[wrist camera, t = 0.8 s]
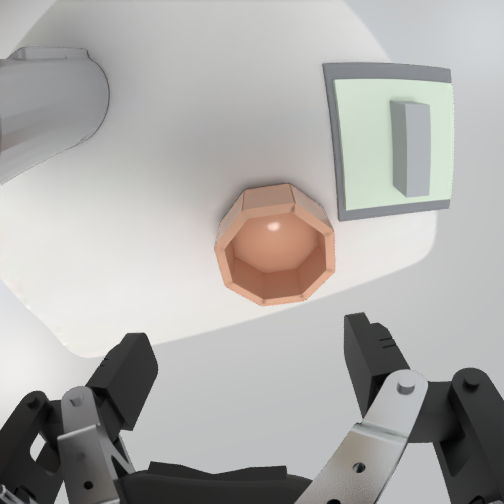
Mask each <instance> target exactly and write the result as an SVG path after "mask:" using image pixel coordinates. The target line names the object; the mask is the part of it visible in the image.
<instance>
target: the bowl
mask: <svg viewBox="0 0 504 504" xmlns="http://www.w3.org/2000/svg"><path fill="white" fill-rule="evenodd" d="M214 250H215V253H216V257H217V261H218V264H219V268H220V271H221V275H222V278H223V282H224V285H225V286H226V287H227V288H229V289H230V290H232V291H234V292H236V293H238V294H240V295H241V296H243V297H245V298H247V299H249V300H251V301H253V302H254V303H256V304H258V305H260V306H270V305H278V304H286V303H293V302H300V301H304V300H307V299H308V298H309V297H310V296H311V295H312V294H313V293H314V292H315V291H316V290H317V289H318V288H319V287H320V286H321V285H322V284H323V283H324V282H325V281H326V280H327V279H328V278H329V277H330V276H331V275H332V274H333V273H334V272H335V240H334V230H333V228H332V226H331V224H330V221H329V219H328V217H327V215H326V213H325V211H324V209H323V207H321V206H320V205H319V204H317V203H316V202H315V201H313V200H312V199H311V198H309V197H308V196H306V195H305V194H304V193H302V192H301V191H300V190H298V189H297V188H295V187H294V186H293V185H291V184H289V183H287V184H280V185H273V186H266V187H259V188H253V189H247V190H245V191H243V192H242V194H241V195H240V196H239V198H238V199H237V200H236V202H235V203H234V204H233V206H232V207H231V209H230V210H229V211H228V213H227V214H226V215H225V217H224V218H223V219H222V221H221V222H220V226H219V230H218V234H217V238H216V242H215V246H214Z"/></svg>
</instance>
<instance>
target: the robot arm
mask: <svg viewBox="0 0 504 504" xmlns="http://www.w3.org/2000/svg"><path fill="white" fill-rule="evenodd" d="M108 101H109V88H108V84H107V80H106V77H105V75H104V73H103V71H102V70H101V68H100V67H99V66H98V65H97V64H96V63H94V62H93V61H92V60H90V59H89V57H88V54H87V50H86V49H77V48H60V47H23V48H20V49H18V50H17V51H15V52H14V53H13V54H12V55H10V56H9V57H8V58H7V59H0V186H1V185H3V184H4V183H6V182H8V181H9V180H11V179H13V178H14V177H16V176H18V175H19V174H21V173H23V172H24V171H26V170H28V169H30V168H32V167H33V166H35V165H37V164H39V163H41V162H43V161H45V160H46V159H48V158H50V157H52V156H54V155H56V154H58V153H60V152H62V151H64V150H66V149H69V148H71V147H74V146H76V145H77V144H79V143H81V142H83V141H85V140H87V139H88V138H89V137H91V136H92V135H93V134H94V133H95V132H96V130H97V129H98V128H99V127H100V125H101V123H102V121H103V119H104V117H105V114H106V111H107V108H108ZM344 355H345V361H346V365H347V368H348V371H349V374H350V378H351V381H352V384H353V387H354V391H355V394H356V397H357V401H358V404H359V407H360V411H361V414H362V418H363V421H362V422H361V423H356V424H355V425H354V426H353V427H352V428H351V430H350V431H349V433H348V434H347V436H346V437H345V439H344V440H343V442H342V443H341V445H340V446H339V447H338V449H337V450H336V452H335V453H334V454H333V456H332V457H331V459H330V460H329V461H328V462H327V464H326V465H325V467H324V468H323V469H322V470H321V472H320V473H319V474H318V475H317V477H316V478H315V479H314V480H310V479H307V478H304V477H300V476H296V475H289V474H287V468H286V466H272V467H250V468H245V469H240V470H235V471H231V472H225V473H219V474H210V473H206V472H203V471H199V470H196V469H192V468H189V467H186V466H183V465H177V464H167V463H160V462H152V461H151V462H150V465H149V468H148V470H143V471H138V472H136V471H135V469H134V467H133V465H132V462H131V460H130V457H129V455H128V453H127V450H126V448H125V445H124V443H123V440H122V438H121V436H120V435H119V432H120V430H121V429H122V430H129V431H133V428H134V426H135V424H136V421H137V419H138V417H139V415H140V412H141V410H142V408H143V406H144V403H145V401H146V399H147V397H148V394H149V392H150V390H151V388H152V386H153V383H154V381H155V379H156V377H157V374H158V364H157V361H156V358H155V355H154V353H153V350H152V347H151V345H150V342H149V339H148V337H147V335H146V334H145V333H127V334H126V335H125V337H124V338H123V339H122V341H121V342H120V344H118V345H116V346H115V347H114V348H113V349H111V350H110V351H109V352H108V354H107V355H106V356H105V358H104V360H103V361H102V362H101V364H100V366H98V368H97V369H96V371H95V372H94V374H93V375H92V377H91V378H90V379H89V381H88V383H87V384H86V385H85V386H78V387H74V388H72V389H70V390H69V391H67V392H66V393H65V394H64V396H63V397H62V399H61V400H53V401H49V399H48V398H47V396H46V395H45V393H44V392H42V391H33V392H31V393H29V394H27V395H26V396H25V397H24V398H23V399H22V400H21V401H20V403H19V404H18V406H17V407H16V408H15V410H14V411H13V413H12V414H11V416H10V417H9V418H8V420H7V421H6V423H5V424H4V426H3V427H2V429H1V430H0V504H54V502H55V499H56V497H57V494H58V492H59V490H60V487H61V485H62V483H63V480H64V483H65V487H66V492H67V496H68V500H69V504H377V502H378V500H379V499H380V497H381V495H382V493H383V491H384V490H385V488H386V486H387V484H388V482H389V480H390V478H391V476H392V475H393V473H394V471H395V469H396V467H397V465H398V463H399V461H400V459H401V457H402V455H403V453H404V451H405V449H406V446H407V444H408V443H429V442H433V446H434V448H435V452H436V455H437V458H438V461H439V464H440V467H441V470H442V473H443V476H444V480H445V483H446V487H447V490H448V494H449V497H450V501H451V504H504V400H503V399H502V397H501V395H500V394H499V392H498V391H497V389H496V388H495V386H494V384H493V383H492V381H491V380H490V378H489V377H488V376H487V374H486V373H484V372H483V371H481V370H479V369H476V368H465V369H461V370H459V371H458V372H456V373H455V375H454V377H453V379H452V381H448V382H430V381H427V380H426V378H425V377H424V376H423V375H422V374H421V373H419V372H417V371H414V370H411V369H410V367H409V366H408V364H407V362H406V360H405V359H404V357H403V355H402V353H401V351H400V350H399V348H398V346H396V343H395V341H394V339H392V336H391V334H390V332H389V331H388V329H387V328H386V327H384V326H382V325H381V324H380V323H373V324H370V322H369V320H368V318H367V317H366V315H365V313H364V312H362V313H355V314H349V315H345V317H344ZM38 433H39V434H40V435H41V436H42V438H43V439H44V440H45V441H46V443H45V445H44V446H43V448H42V450H41V452H40V454H39V456H38V458H37V459H36V461H34V460H33V459H32V457H31V455H30V447H31V445H32V444H33V442H34V440H35V438H36V436H37V435H38Z"/></svg>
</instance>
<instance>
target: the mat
mask: <svg viewBox="0 0 504 504" xmlns="http://www.w3.org/2000/svg"><path fill="white" fill-rule="evenodd" d="M323 70H324V76H325V83H326V89H327V97H328V104H329V112H330V120H331V129H332V139H333V149H334V160H335V173H336V187H337V204H338V220H339V221H340V222H341V221H349V220H357V219H365V218H373V217H381V216H389V215H397V214H405V213H414V212H422V211H431V210H440V209H448V208H449V204H450V199H446V200H435V201H426V202H416V203H407V204H397V205H389V206H380V207H371V208H363V209H355V210H347V211H346V209H345V208H344V195H343V177H342V163H341V150H340V139H339V129H338V120H337V111H336V103H335V95H334V88H333V81H332V80H339V79H403V80H420V81H432V82H443V83H451V84H452V82H451V71H450V69H446V68H438V67H430V66H421V65H420V66H419V65H409V64H393V63H328V64H323Z"/></svg>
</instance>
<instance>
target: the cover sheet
mask: <svg viewBox="0 0 504 504" xmlns="http://www.w3.org/2000/svg"><path fill="white" fill-rule="evenodd" d="M332 81H333V88H334V95H335V103H336V111H337V120H338V129H339V139H340V150H341V163H342V177H343V195H344V208H345V209H346V211H347V210H355V209H363V208H371V207H380V206H389V205H397V204H407V203H416V202H426V201H435V200H446V199H451V190H452V178H453V162H454V103H453V87H452V84H451V83H443V82H432V81H420V80H403V79H339V80H332Z"/></svg>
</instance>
